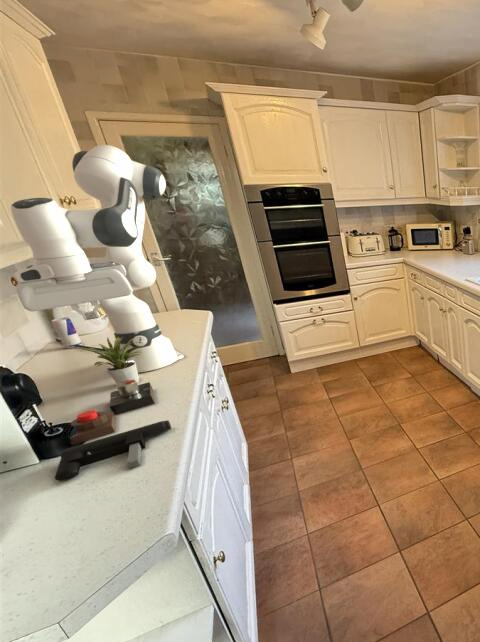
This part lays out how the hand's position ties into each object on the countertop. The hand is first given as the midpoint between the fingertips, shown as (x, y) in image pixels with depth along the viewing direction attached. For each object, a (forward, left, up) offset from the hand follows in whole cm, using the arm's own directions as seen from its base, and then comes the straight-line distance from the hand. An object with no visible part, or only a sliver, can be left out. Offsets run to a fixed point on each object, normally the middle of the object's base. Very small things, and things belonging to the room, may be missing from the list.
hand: (92, 318), depth 105 cm
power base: (+10, -8, -27) cm, 30 cm away
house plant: (-21, -2, -28) cm, 35 cm away
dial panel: (-3, 0, -27) cm, 28 cm away
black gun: (+30, -3, -28) cm, 41 cm away
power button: (+10, -8, -24) cm, 27 cm away
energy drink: (-88, -19, -28) cm, 95 cm away
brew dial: (-3, 0, -24) cm, 25 cm away
